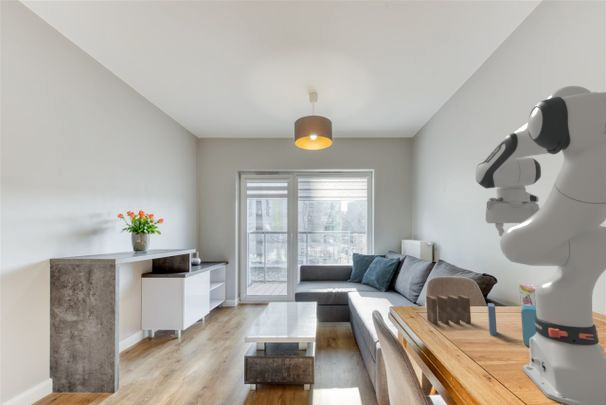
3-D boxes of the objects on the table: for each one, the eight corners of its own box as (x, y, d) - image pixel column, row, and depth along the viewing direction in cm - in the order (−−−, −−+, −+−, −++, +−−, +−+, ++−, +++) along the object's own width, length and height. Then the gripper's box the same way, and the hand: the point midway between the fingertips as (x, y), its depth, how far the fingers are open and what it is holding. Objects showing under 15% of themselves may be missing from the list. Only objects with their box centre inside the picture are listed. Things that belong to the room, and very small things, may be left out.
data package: (571, 350, 93) (568, 310, 94) (573, 355, 90) (569, 313, 91) (524, 341, 101) (521, 304, 102) (523, 345, 97) (520, 307, 98)
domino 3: (453, 319, 125) (452, 295, 126) (460, 323, 120) (458, 298, 121) (448, 319, 125) (447, 295, 126) (455, 323, 120) (453, 298, 121)
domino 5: (495, 331, 110) (493, 303, 111) (496, 335, 106) (495, 306, 107) (489, 330, 111) (487, 303, 112) (490, 334, 107) (488, 306, 108)
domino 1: (432, 320, 124) (431, 295, 125) (437, 324, 119) (436, 298, 120) (427, 320, 124) (426, 295, 125) (433, 324, 119) (431, 298, 120)
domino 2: (442, 320, 125) (441, 295, 125) (449, 323, 120) (447, 298, 120) (438, 320, 125) (436, 295, 125) (444, 323, 120) (442, 298, 120)
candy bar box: (521, 328, 113) (518, 284, 115) (536, 329, 112) (533, 284, 114) (538, 339, 102) (534, 290, 104) (555, 340, 101) (551, 290, 103)
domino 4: (463, 319, 125) (462, 295, 126) (471, 323, 120) (469, 297, 121) (459, 319, 125) (457, 295, 126) (466, 323, 120) (464, 297, 121)
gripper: (493, 196, 104) (496, 236, 103) (542, 197, 108) (545, 235, 107) (480, 198, 111) (482, 236, 109) (526, 199, 114) (529, 235, 113)
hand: (513, 235), depth 108 cm, fingers open, 8 cm apart
